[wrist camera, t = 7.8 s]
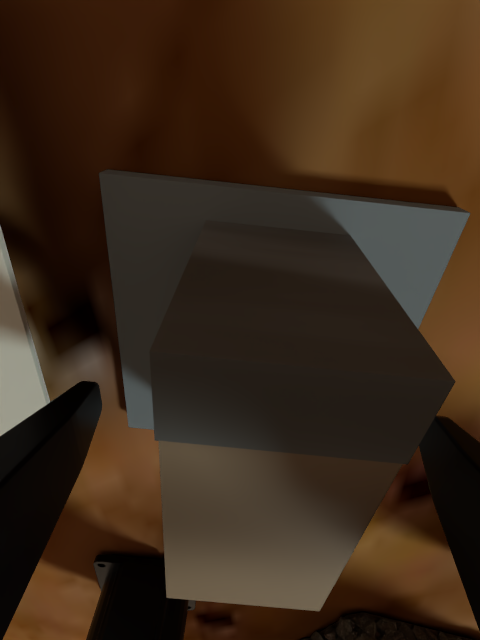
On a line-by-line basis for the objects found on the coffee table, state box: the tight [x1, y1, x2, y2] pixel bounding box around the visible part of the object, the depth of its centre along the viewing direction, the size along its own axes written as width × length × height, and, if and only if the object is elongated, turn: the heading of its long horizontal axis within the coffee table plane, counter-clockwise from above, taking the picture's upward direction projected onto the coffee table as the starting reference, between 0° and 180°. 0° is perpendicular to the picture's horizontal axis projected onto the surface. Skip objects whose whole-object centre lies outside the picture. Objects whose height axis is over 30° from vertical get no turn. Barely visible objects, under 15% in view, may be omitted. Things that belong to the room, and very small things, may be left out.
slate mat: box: [99, 169, 470, 430], centre depth 12 cm, size 10×10×1 cm
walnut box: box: [149, 220, 455, 611], centre depth 9 cm, size 8×4×6 cm, turn 175°
